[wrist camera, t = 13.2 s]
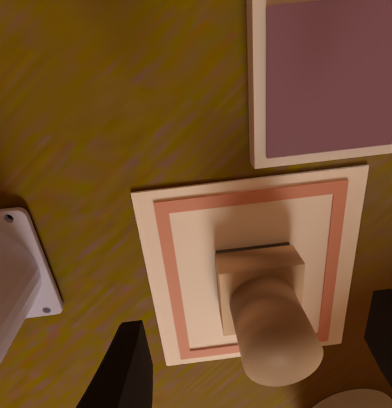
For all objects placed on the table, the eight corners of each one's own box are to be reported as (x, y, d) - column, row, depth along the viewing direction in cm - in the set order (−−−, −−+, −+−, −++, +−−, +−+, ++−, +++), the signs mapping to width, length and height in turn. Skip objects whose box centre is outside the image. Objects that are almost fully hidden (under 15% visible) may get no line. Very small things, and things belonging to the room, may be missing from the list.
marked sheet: (166, 363, 25) (166, 367, 24) (131, 192, 18) (130, 194, 18) (340, 341, 25) (342, 345, 25) (367, 164, 18) (370, 166, 18)
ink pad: (249, 161, 18) (256, 170, 16) (246, -4, 14) (253, -10, 13) (386, 146, 18) (404, 153, 17) (416, -22, 14) (441, -30, 13)
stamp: (218, 307, 22) (235, 398, 16) (213, 249, 20) (231, 330, 14) (287, 298, 22) (328, 385, 16) (290, 240, 20) (338, 316, 14)
